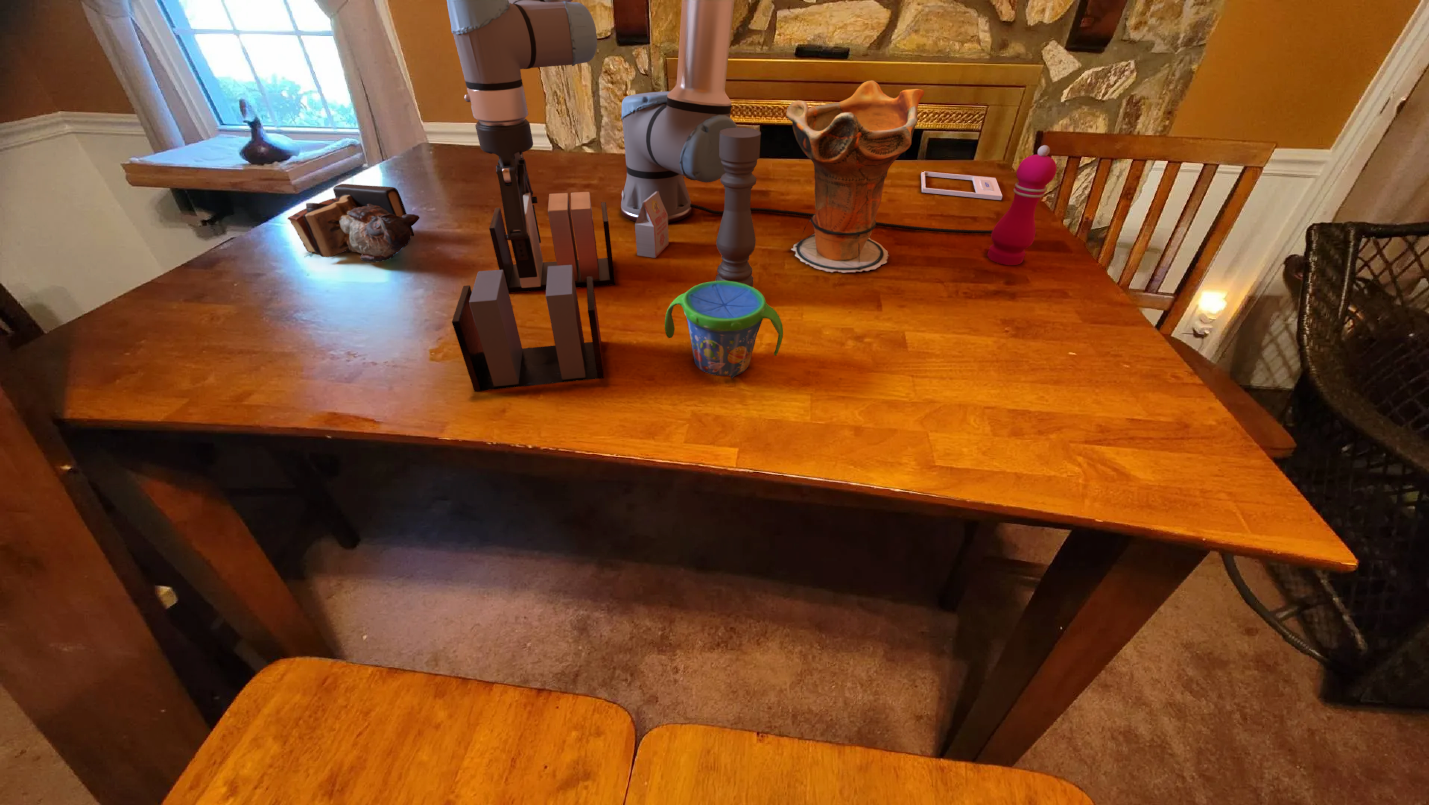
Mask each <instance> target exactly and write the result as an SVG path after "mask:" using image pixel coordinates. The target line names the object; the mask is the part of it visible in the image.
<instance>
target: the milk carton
mask: <svg viewBox="0 0 1429 805" xmlns="http://www.w3.org/2000/svg"><path fill="white" fill-rule="evenodd" d="M634 231H635V246H636V255H637V256H639V257H647V258H652V259H653V258H654V259H656V258H657V257H658V256H659V255H660V254H661V253H662V252H664V250H665V249H666V248H667V247H668V246H669V244H670V242H669V240H670V239H669V238H670V237H669V223H668V214H667V212H666V209H665V207H664V205H663V203H662V201H661V198H660V195H659V191H658V192H657V191H656V192H655V193H653V194H652V195H651V196H650V197H649V198H647V199H646V200H645V201H644V202H642V207H641V210H640V213H639V216H638V218H637V220H636V222H635V223H634Z"/></svg>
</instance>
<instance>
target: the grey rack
mask: <svg viewBox="0 0 1429 805" xmlns="http://www.w3.org/2000/svg"><path fill="white" fill-rule="evenodd" d="M586 281H587V287H586V300H587V301H586V302H587V314H588V319H589V320H588V321H589V327H590V335H591V341H588V342H584V343H585V367H586V377H585V378H575V379H565V380H562V376H561V371H560V366H559V361H558V356H557V351H556V346H555V344H554V345H545V346H534V347H522V349H523V352H522V360H521V368H520V376H519V384H516V385H506V386H496V387H494V385H493V382H492V378H491V375H490V372H489V368H488V365H487V361H486V358H485V355H484V351H483V348H482V345H481V341H480V338H479V334H478V331H477V328H476V324H475V321H474V318H473V314H472V311H471V307H470V304H469V301H470V297H471V294H472V291H473V290H472V288H471V285H463V286H462V290H461V292H460V295H459V298H458V301H457V305H456V308H455V310H454V312H453V313H454V314H453V317H452V320H451V324H452V327H453V330H454V333H455V336H456V339H457V342H458V345H459V348H460V351H461V354H462V357H463V361H464V363H465V367H466V370H467V373H468V376H469V379H470V382H471V385H472V388H473V392H475V393H476V392H484V391H494V390H503V389H513V388H514V389H515V388H523V387H534V386H542V385H553V384H561V383H572V382H582V381H590V380H602V379H605V373H604V360H603V359H604V358H603V357H604V356H603V346H602V344H603V343H602V336H601V330H600V322H599V315H598V314H599V313H598V307H597V300H596V291H595V286H594V284H593V277H592V276H589V277H586Z"/></svg>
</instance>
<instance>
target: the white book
mask: <svg viewBox="0 0 1429 805" xmlns="http://www.w3.org/2000/svg"><path fill="white" fill-rule="evenodd" d="M523 201H524V210H525V218H526V227H527V233H528V236H529V237H530V242H531V247H532V252H533V256H534V261H535V266H536V271H537V277H530V278H520V282H521V287H522V288H527V287H540V286H541V276H542V266H543V262H544V260H543V254H542V249H541V243H539V238H538V232H537V227H536V222H535V217H534V211H533V206H532V205H533V204H532V201H531V196H530V193H525V194H524V195H523ZM513 231H520V230H513Z"/></svg>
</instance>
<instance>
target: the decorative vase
mask: <svg viewBox="0 0 1429 805" xmlns="http://www.w3.org/2000/svg"><path fill="white" fill-rule="evenodd" d="M881 88H882V87H881V86H880V84H879V83H878V82H876V81H875V80H867V81H864V82H862V83H861V84H860V85H859V86H858V87H857V88H856V90H855V91H854V93H853V94H852V95H851V96H850V97H848V98H846V99H843V100H841V101H839V102H833V103H827V104H821V105H814V106H812V107H809V104H808V103H807V101H805V100H799V99H798V100H795V101H792V102H791V103H790V104H789V105H788V107H787V109H786V113H785V116H786V118H787V119H788V120H789V121H790V122H791V124H792V126H791V127H792V130H793V134H794V137H795V140H796V142H797V144H798V145H799V147H800V149H801V150H802V152H803V154H805V155H806V156H807V158H808V159H809V160H811V162H812V163H813V171H814V203H815V204H814V208H815V209H814V210H815V212H814V214H815V215H813V217H810V219H809V220H808V221H807V223H806V225H805V226H804V228H803V231H802V233H804V232H805V230H806V228H807V225H808V224H809V222H810V223H811V224H812V226H813V231H814V233H813V234H811V235H808V237H806V238H803V239H801V240H800V239H799V241H798V242H796V243H795V244H793V246H792V247H793V248H791V249H790V250H791V251H793V252H795V254H794V257H795V258H798V260H799V261H800V262H802V263H805V265H809V267H813V269H816V270H822V271H824V272H826V273H827V272H830V273H832V274H833V273H834V272H838V273H842V274H846V273H856V272H860V273H862V272H863V271H865V272H869V271H870V270H876V269H878V268H879V267H881V265H884V264H887V263H888V259H889V257H890V255H889V254H888V253H889V251H888V250H886V248H884V247H883V245H882V244H881V243H879V242H877V241H876V240H874V239H872V238H871V235H872V234H873V230H874V229H875V228H876V227H877V226H876V223H877V222H878V221H877V220H876V217H877V215H878V211H879V208H880V205H881V203H882V197H883V190H884V186H885V180H886V178H887V177H888V171H889V169H890V168H891V166H892V165H893V164H894V163H895V161H896V160H897V159H898V158H899V157H900V156H901V155H902V154H904V153H905V152H907V150H909V149H910V148H911V145H912V138H913V135H914V132H915V128H916V126H917V125H918V108H919V105H920V102H921V100H922V98H923V97H924V95H925V90H924V89H921V88H911V89H904V90H903V89H902V91H900V92H899V95H898V96H896V97H894V98H893V97H890V96H889V95H887V94H886V93H884V92H883V90H882V89H881Z"/></svg>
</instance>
